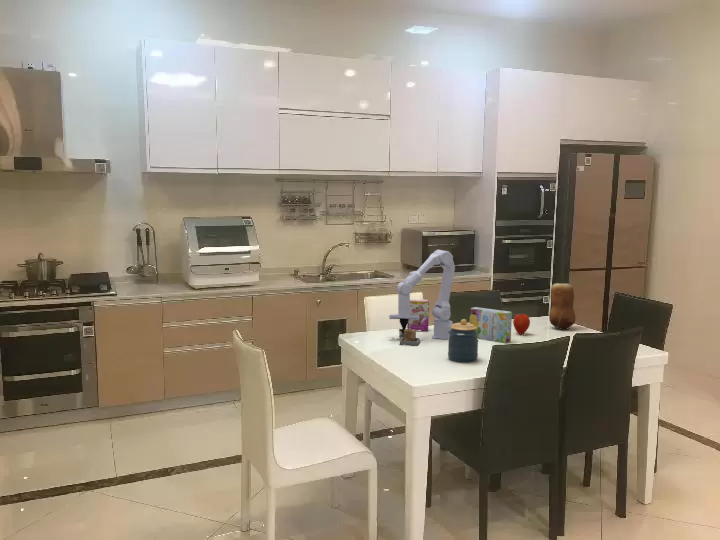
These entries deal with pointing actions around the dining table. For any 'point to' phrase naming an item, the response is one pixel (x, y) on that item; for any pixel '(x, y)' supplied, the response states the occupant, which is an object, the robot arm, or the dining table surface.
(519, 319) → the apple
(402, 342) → the tray
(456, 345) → the canister
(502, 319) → the snack box
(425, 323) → the candy bar box
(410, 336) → the block
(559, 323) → the butternut squash
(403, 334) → the crank lever
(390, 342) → the dining table surface
